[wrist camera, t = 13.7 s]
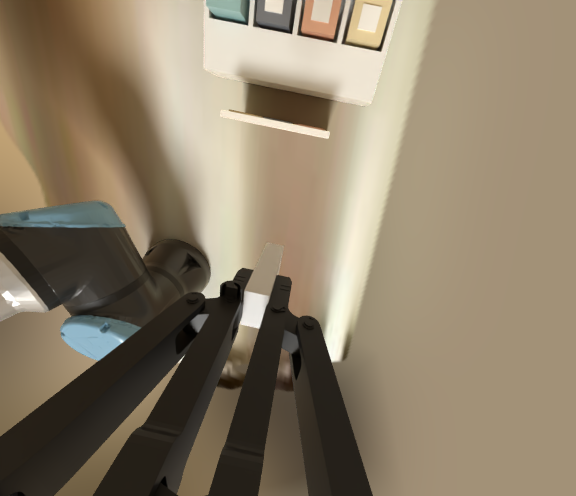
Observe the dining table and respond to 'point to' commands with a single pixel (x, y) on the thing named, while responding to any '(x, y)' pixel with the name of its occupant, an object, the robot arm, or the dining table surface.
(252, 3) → the keypad
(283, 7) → the key
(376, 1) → the key
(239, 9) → the key
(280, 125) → the placard
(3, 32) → the dining table surface
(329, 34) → the key
